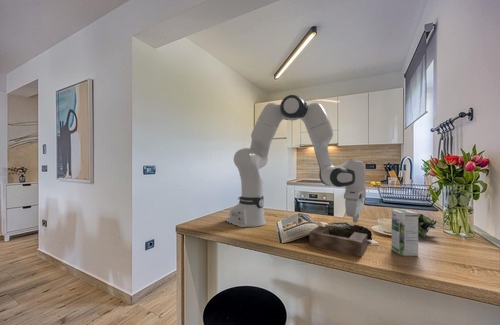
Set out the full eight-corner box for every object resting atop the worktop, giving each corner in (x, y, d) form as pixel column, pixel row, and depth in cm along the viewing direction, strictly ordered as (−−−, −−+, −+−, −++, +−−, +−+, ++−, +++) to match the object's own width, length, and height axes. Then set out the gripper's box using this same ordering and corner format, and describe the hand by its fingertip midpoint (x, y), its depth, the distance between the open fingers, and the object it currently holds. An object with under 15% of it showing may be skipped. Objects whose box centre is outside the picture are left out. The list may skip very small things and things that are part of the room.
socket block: (309, 245, 83) (309, 232, 83) (319, 237, 91) (319, 225, 91) (361, 257, 72) (361, 242, 72) (367, 247, 79) (367, 234, 79)
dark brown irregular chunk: (324, 237, 92) (324, 223, 92) (327, 232, 98) (327, 220, 98) (372, 244, 83) (371, 229, 83) (372, 239, 89) (372, 225, 89)
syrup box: (390, 249, 78) (390, 209, 78) (407, 249, 78) (407, 209, 78) (401, 256, 72) (400, 212, 72) (419, 256, 72) (419, 212, 72)
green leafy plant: (418, 245, 95) (434, 223, 95) (431, 250, 84) (449, 225, 84) (392, 228, 98) (408, 207, 98) (402, 231, 88) (419, 207, 88)
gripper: (353, 190, 114) (353, 216, 114) (342, 195, 98) (342, 225, 98) (367, 191, 110) (367, 218, 110) (357, 196, 94) (358, 228, 94)
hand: (355, 222), depth 104 cm, fingers closed
